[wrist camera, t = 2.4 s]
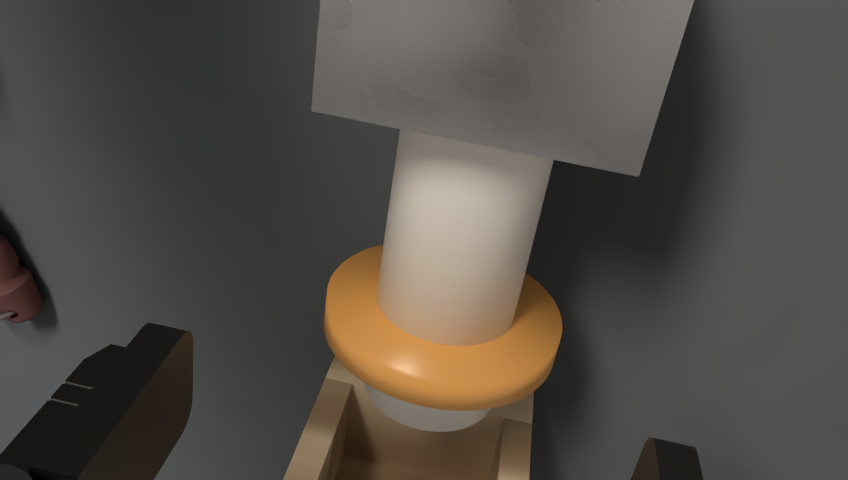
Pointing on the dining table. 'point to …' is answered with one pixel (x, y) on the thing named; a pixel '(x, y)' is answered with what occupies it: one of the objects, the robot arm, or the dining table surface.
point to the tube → (448, 288)
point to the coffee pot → (16, 287)
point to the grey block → (505, 72)
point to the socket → (405, 441)
